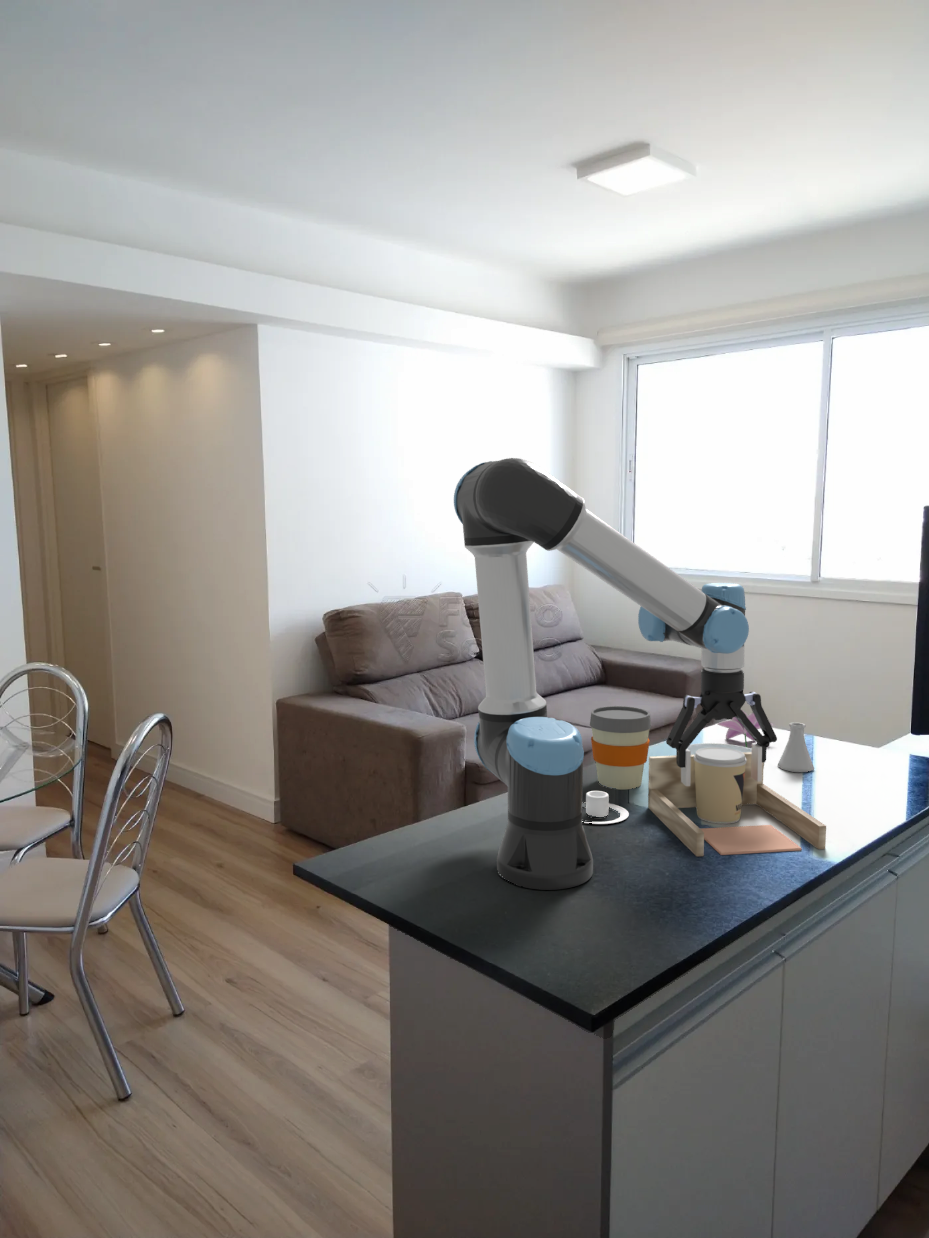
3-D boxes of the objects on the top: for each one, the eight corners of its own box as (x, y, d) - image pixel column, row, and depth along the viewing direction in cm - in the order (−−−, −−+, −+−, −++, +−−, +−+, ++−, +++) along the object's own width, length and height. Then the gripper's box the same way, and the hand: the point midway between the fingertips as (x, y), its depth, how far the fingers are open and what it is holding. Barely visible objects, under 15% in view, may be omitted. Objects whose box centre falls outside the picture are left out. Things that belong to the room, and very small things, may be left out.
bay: (696, 856, 143) (697, 797, 142) (648, 807, 167) (648, 756, 166) (825, 848, 146) (827, 790, 144) (759, 801, 169) (761, 751, 168)
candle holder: (575, 830, 156) (575, 806, 156) (556, 808, 168) (556, 786, 168) (638, 824, 159) (639, 801, 158) (614, 803, 170) (615, 782, 170)
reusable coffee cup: (660, 789, 177) (661, 717, 176) (601, 794, 175) (602, 721, 173) (636, 771, 190) (637, 704, 188) (581, 775, 187) (581, 707, 185)
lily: (780, 750, 210) (774, 711, 214) (762, 740, 201) (756, 700, 205) (732, 758, 217) (727, 720, 220) (713, 749, 208) (708, 710, 212)
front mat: (721, 854, 143) (721, 852, 143) (695, 831, 154) (695, 828, 154) (801, 850, 145) (801, 847, 145) (770, 826, 156) (770, 824, 156)
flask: (771, 765, 193) (772, 721, 192) (798, 762, 196) (800, 719, 194) (792, 774, 187) (794, 729, 185) (820, 771, 189) (822, 726, 188)
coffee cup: (747, 827, 156) (749, 761, 155) (693, 823, 158) (695, 759, 156) (741, 809, 165) (743, 747, 164) (691, 806, 167) (692, 745, 166)
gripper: (777, 661, 163) (775, 771, 166) (649, 668, 160) (649, 779, 163) (797, 668, 156) (795, 783, 159) (663, 675, 153) (662, 792, 156)
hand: (721, 781), depth 161 cm, fingers open, 13 cm apart
